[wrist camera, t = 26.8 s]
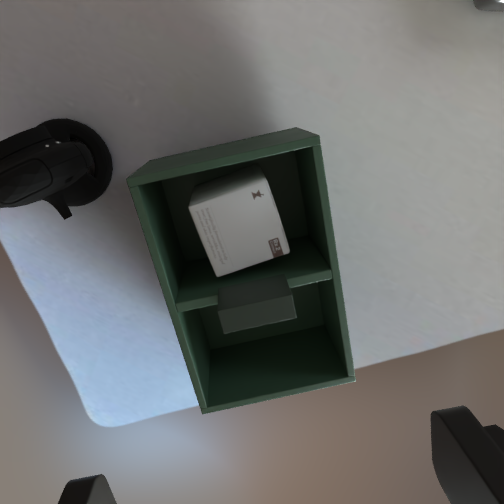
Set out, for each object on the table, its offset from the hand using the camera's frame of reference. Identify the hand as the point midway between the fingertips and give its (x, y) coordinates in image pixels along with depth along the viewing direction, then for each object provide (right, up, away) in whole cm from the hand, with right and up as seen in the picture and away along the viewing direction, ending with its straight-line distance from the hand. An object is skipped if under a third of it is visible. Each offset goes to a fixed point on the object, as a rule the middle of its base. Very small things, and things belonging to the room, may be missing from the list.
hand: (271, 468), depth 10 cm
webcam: (-16, +13, +26) cm, 34 cm away
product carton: (-2, +9, +27) cm, 29 cm away
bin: (-1, +5, +29) cm, 29 cm away
